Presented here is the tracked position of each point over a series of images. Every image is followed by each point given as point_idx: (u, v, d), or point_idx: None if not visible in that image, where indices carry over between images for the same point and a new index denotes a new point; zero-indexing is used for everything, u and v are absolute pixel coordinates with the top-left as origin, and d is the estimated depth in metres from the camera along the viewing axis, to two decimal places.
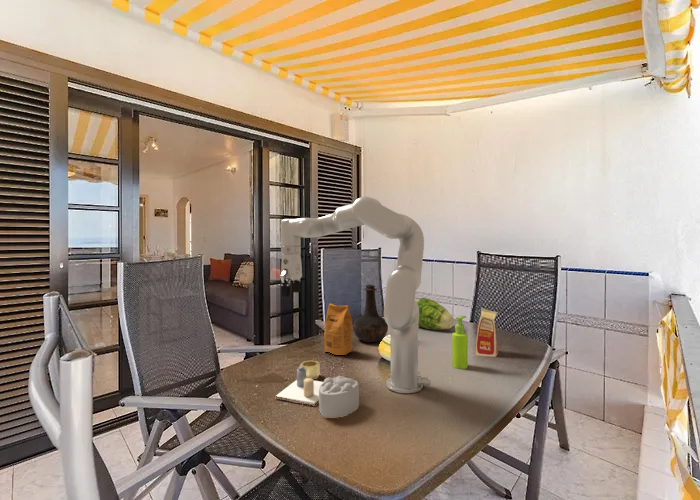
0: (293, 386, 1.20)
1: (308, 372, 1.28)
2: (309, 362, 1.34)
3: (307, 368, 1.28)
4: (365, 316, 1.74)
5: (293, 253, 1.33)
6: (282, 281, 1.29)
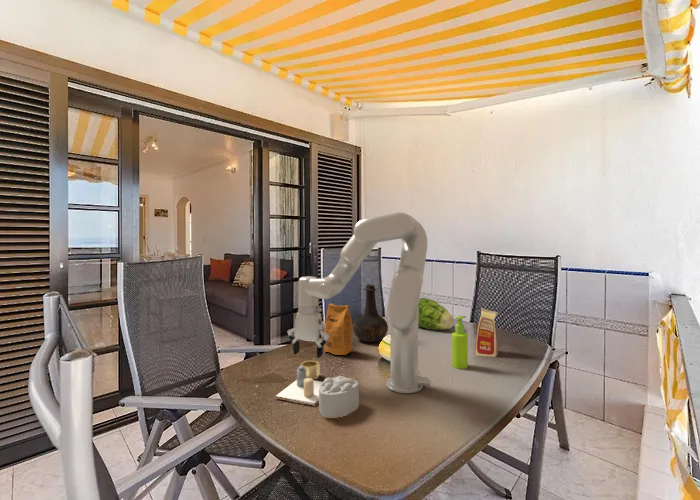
0: (293, 386, 1.20)
1: (308, 372, 1.28)
2: (309, 362, 1.34)
3: (307, 368, 1.28)
4: (365, 316, 1.74)
5: None
6: (326, 341, 1.28)
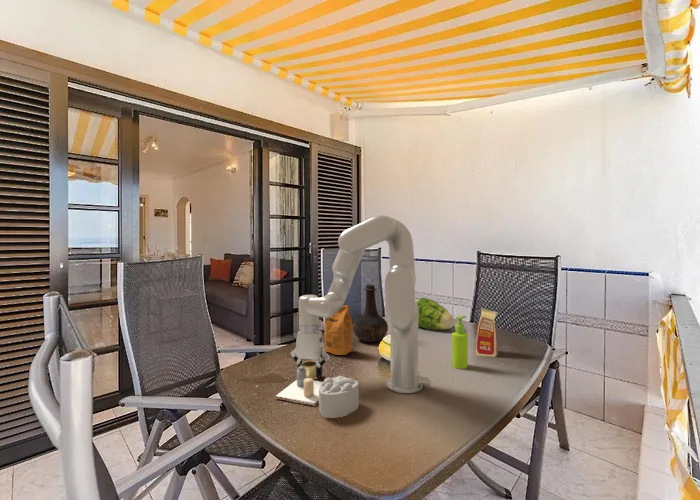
0: (293, 386, 1.20)
1: (308, 372, 1.28)
2: (309, 362, 1.34)
3: (307, 368, 1.28)
4: (365, 316, 1.74)
5: None
6: (325, 361, 1.29)
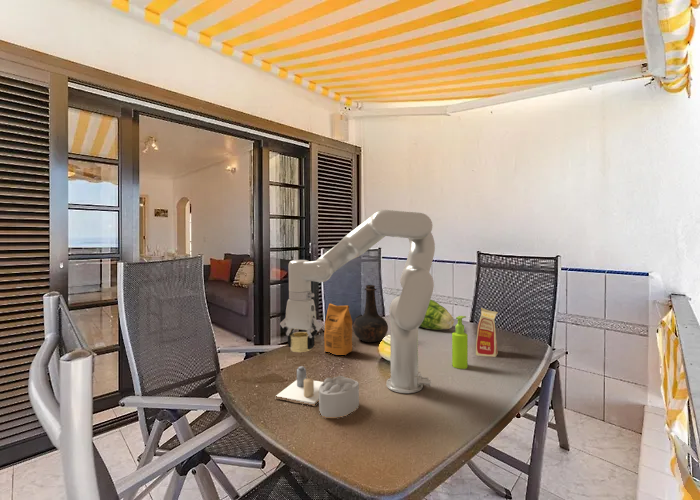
0: (293, 386, 1.20)
1: (298, 343, 1.17)
2: (300, 333, 1.23)
3: (297, 338, 1.17)
4: (365, 316, 1.74)
5: None
6: (317, 331, 1.18)
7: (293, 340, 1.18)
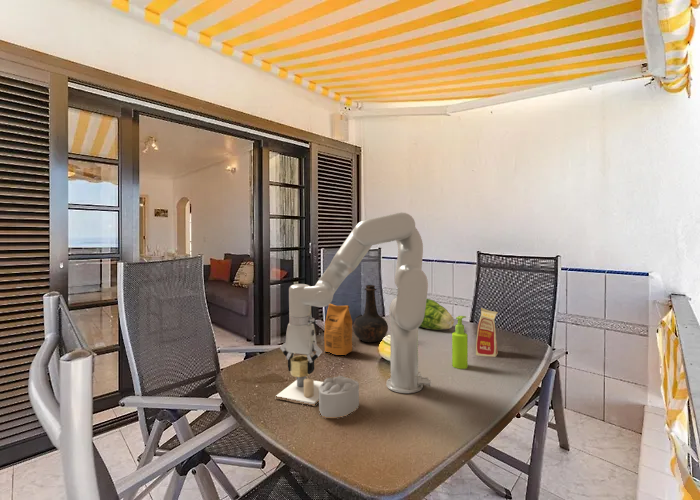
0: (293, 386, 1.20)
1: (299, 368, 1.17)
2: (300, 357, 1.23)
3: (297, 363, 1.17)
4: (365, 316, 1.74)
5: None
6: (317, 356, 1.18)
7: (293, 365, 1.18)
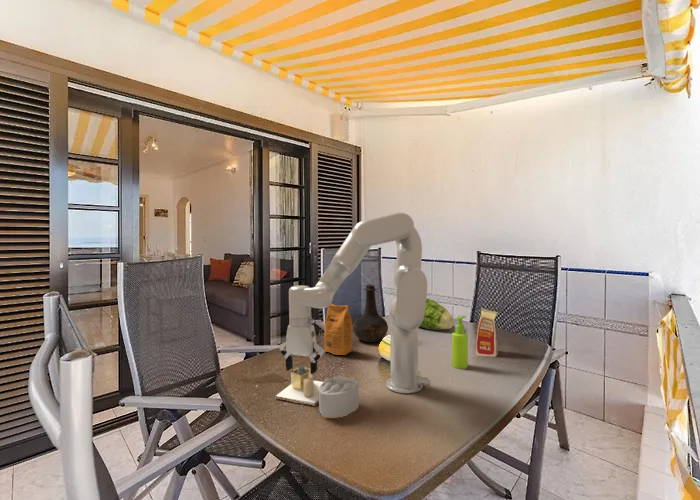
0: None
1: (299, 380, 1.18)
2: None
3: (298, 376, 1.18)
4: (365, 316, 1.74)
5: None
6: (320, 356, 1.18)
7: (294, 377, 1.18)
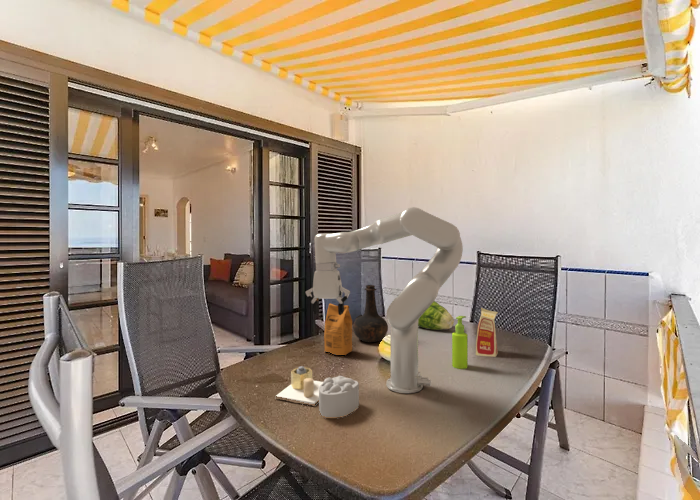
0: None
1: (299, 380, 1.18)
2: None
3: (298, 376, 1.18)
4: (365, 316, 1.74)
5: None
6: (347, 297, 1.26)
7: (294, 377, 1.18)
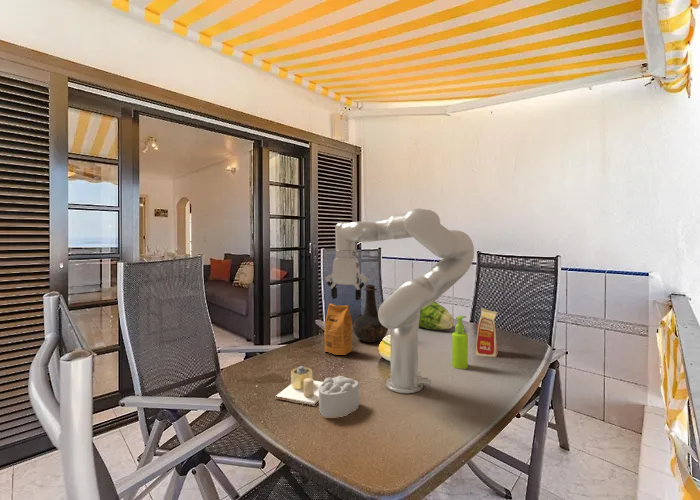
0: None
1: (299, 380, 1.18)
2: None
3: (298, 376, 1.18)
4: (365, 316, 1.74)
5: None
6: (364, 284, 1.32)
7: (294, 377, 1.18)
